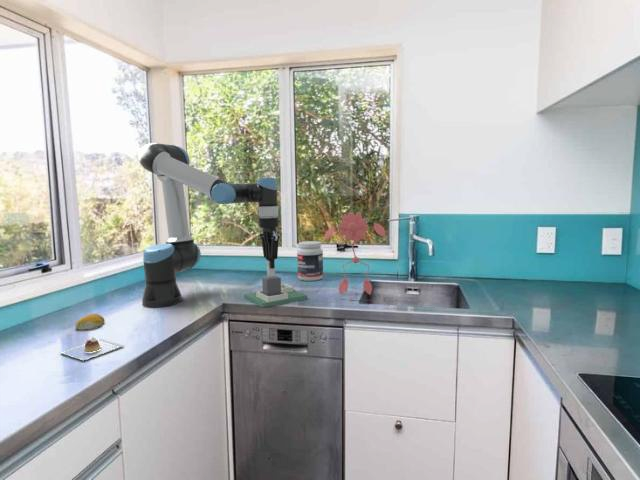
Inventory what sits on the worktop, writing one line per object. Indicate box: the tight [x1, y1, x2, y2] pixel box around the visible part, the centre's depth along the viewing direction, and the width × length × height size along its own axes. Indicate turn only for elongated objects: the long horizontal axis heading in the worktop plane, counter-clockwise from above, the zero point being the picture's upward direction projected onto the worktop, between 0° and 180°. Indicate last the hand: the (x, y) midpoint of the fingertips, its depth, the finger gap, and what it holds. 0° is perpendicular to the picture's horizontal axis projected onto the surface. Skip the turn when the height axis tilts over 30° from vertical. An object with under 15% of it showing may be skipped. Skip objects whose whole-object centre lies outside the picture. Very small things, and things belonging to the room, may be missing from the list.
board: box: [243, 283, 308, 308], centre depth 170 cm, size 20×18×4 cm
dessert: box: [59, 336, 125, 362], centre depth 118 cm, size 12×12×5 cm
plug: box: [261, 275, 282, 296], centre depth 165 cm, size 7×4×8 cm
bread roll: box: [75, 313, 105, 331], centre depth 140 cm, size 8×9×4 cm
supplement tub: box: [296, 240, 324, 282], centre depth 205 cm, size 13×13×18 cm
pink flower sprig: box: [324, 211, 386, 302], centre depth 168 cm, size 15×26×35 cm, turn 75°
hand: (271, 275), depth 165 cm, fingers closed
